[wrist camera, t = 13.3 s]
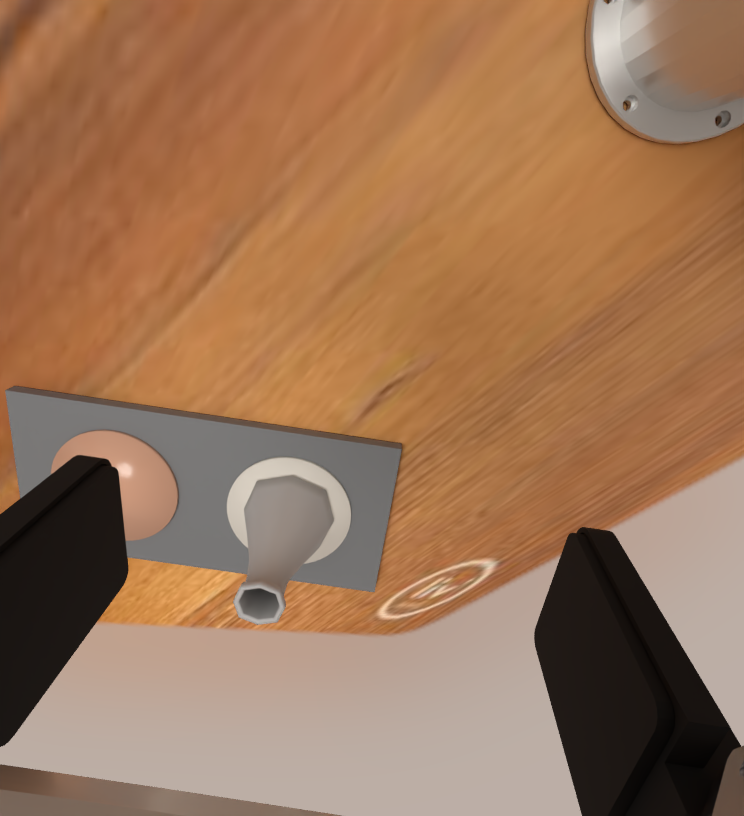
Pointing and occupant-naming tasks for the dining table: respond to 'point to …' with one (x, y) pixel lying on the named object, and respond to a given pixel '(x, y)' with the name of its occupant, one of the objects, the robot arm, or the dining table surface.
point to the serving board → (216, 476)
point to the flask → (279, 542)
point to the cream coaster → (303, 471)
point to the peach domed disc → (131, 478)
